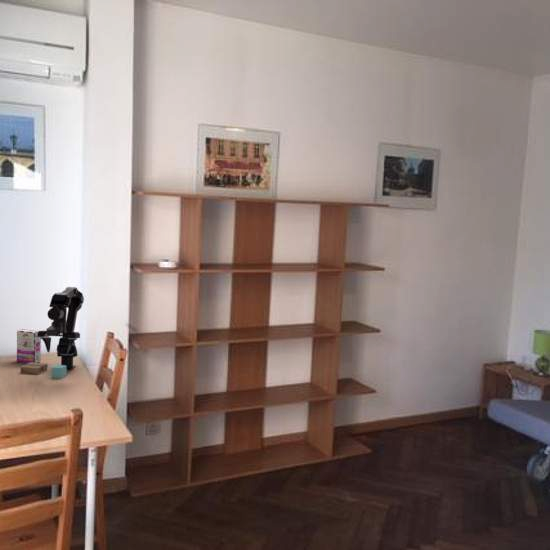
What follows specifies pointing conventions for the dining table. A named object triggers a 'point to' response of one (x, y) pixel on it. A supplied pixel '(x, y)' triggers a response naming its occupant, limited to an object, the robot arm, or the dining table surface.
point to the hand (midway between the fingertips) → (57, 352)
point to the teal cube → (58, 371)
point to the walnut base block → (34, 368)
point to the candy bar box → (28, 346)
